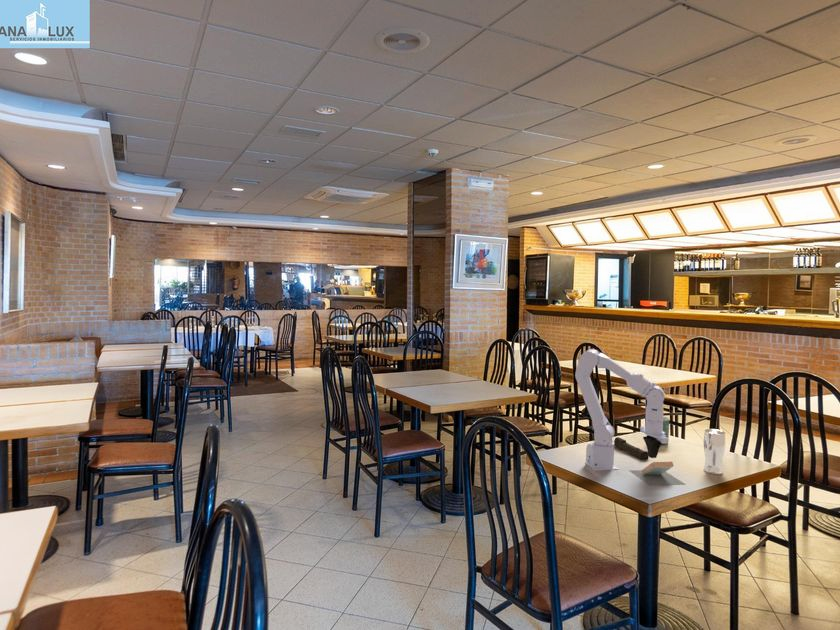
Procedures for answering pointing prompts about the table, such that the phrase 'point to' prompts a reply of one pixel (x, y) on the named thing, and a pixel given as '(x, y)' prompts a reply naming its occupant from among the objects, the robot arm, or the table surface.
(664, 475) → the mat
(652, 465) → the tile
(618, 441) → the hand tool
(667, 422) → the canned tomato
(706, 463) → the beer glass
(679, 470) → the table surface
